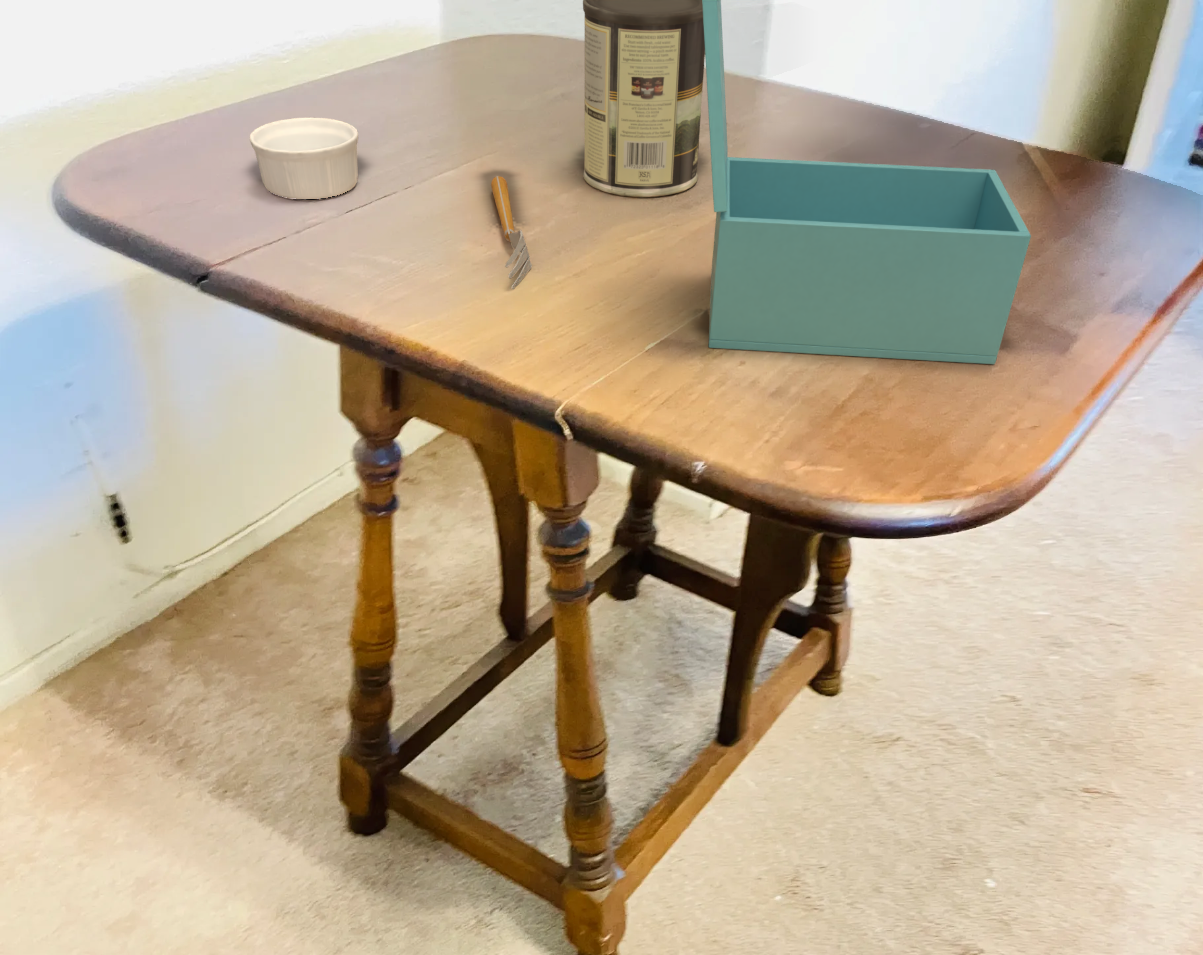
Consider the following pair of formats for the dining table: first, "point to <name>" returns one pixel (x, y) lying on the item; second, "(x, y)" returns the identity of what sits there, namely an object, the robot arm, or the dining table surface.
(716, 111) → the lid
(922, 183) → the box
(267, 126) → the ramekin
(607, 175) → the coffee can
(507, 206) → the fork
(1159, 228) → the dining table surface
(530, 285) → the dining table surface
